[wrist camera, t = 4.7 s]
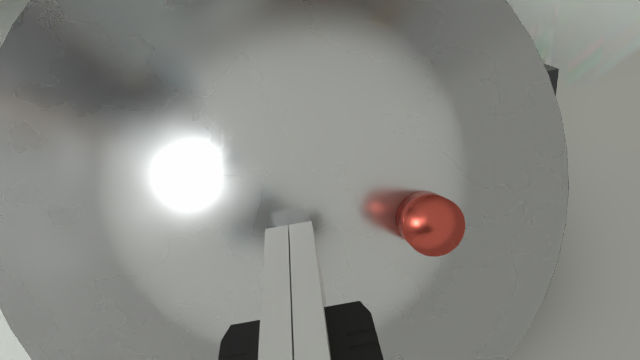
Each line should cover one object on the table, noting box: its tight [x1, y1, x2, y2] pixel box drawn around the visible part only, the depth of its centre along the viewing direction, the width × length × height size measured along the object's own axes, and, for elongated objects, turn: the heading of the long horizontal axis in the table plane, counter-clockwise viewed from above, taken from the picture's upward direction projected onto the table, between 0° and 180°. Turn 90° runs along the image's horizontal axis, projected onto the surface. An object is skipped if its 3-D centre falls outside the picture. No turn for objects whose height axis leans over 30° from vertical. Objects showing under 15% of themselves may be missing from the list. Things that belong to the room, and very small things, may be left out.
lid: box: [0, 0, 569, 360], centre depth 15 cm, size 21×28×3 cm
